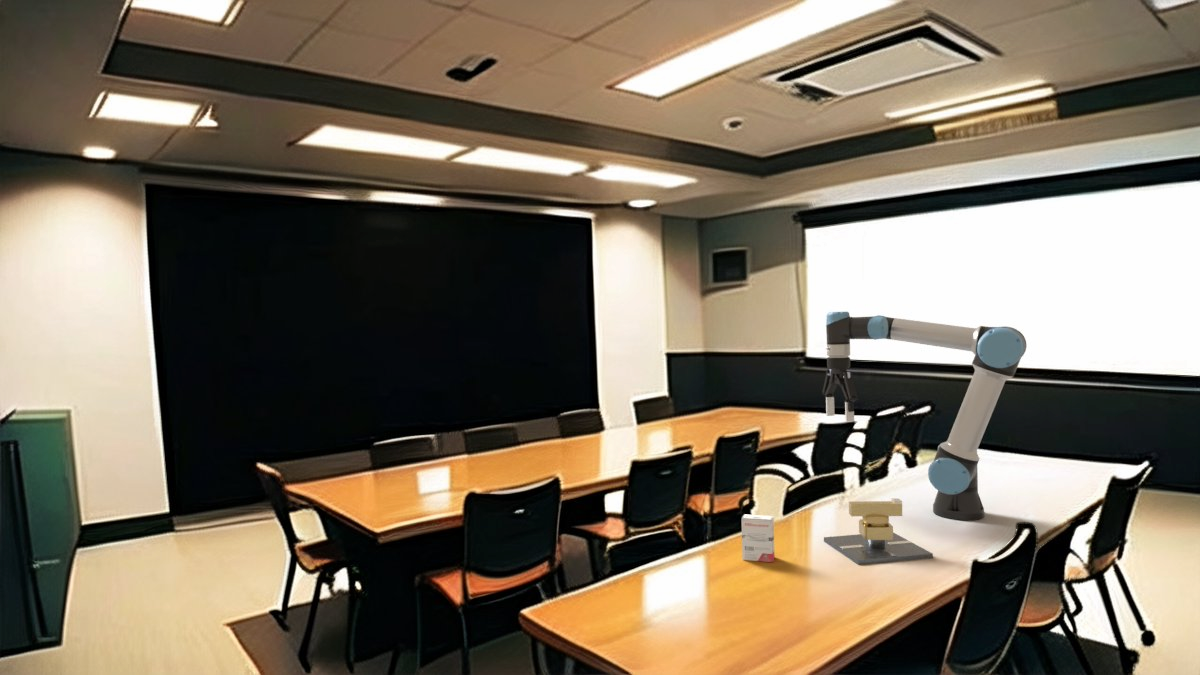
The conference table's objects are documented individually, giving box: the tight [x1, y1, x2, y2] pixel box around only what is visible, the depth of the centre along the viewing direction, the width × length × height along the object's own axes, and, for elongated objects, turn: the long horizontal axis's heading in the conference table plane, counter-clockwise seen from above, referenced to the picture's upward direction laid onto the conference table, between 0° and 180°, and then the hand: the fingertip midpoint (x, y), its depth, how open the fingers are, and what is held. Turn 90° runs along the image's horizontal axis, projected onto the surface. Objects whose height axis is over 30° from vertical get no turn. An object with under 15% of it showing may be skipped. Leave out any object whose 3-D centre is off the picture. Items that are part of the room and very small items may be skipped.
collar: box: [848, 498, 903, 540], centre depth 199 cm, size 8×14×10 cm, turn 85°
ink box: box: [741, 513, 775, 563], centre depth 195 cm, size 9×5×12 cm, turn 71°
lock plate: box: [823, 526, 934, 566], centre depth 199 cm, size 22×20×7 cm
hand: (839, 418), depth 239 cm, fingers open, 13 cm apart
